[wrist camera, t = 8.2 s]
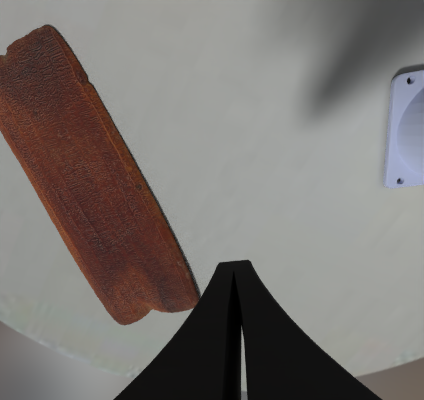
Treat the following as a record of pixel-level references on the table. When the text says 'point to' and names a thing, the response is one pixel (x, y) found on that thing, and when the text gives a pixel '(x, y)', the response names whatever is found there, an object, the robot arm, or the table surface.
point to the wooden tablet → (89, 181)
